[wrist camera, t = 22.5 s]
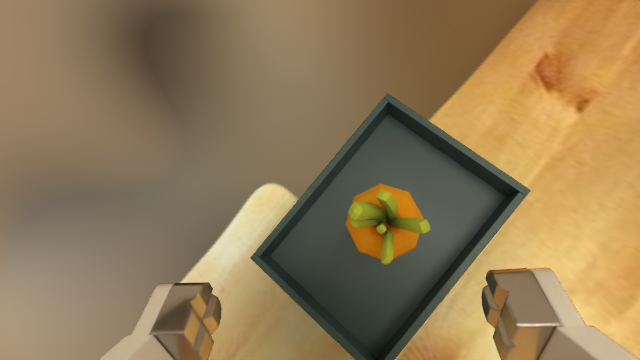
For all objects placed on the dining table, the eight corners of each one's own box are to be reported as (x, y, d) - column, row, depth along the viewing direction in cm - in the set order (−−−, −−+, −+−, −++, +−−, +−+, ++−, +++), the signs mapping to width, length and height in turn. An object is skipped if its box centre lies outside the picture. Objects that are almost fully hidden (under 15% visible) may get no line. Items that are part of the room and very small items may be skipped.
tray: (377, 365, 29) (377, 381, 26) (264, 256, 33) (250, 257, 30) (513, 196, 30) (530, 190, 27) (387, 108, 34) (387, 92, 30)
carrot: (423, 226, 30) (458, 208, 16) (387, 268, 30) (391, 289, 16) (380, 191, 32) (376, 146, 17) (345, 232, 32) (314, 220, 17)
